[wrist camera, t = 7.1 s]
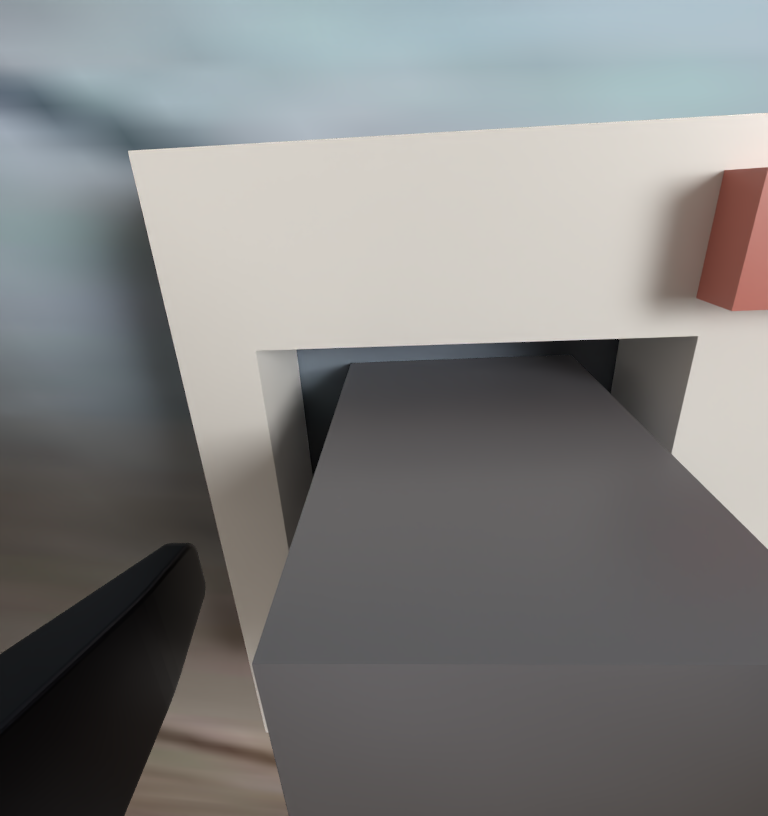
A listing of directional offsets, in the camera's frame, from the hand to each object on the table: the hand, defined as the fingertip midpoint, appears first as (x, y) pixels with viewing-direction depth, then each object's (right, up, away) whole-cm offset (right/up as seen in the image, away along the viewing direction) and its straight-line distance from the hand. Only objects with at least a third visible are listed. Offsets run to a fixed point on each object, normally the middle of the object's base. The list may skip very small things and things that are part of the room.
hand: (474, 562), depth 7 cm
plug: (0, +1, +3) cm, 4 cm away
